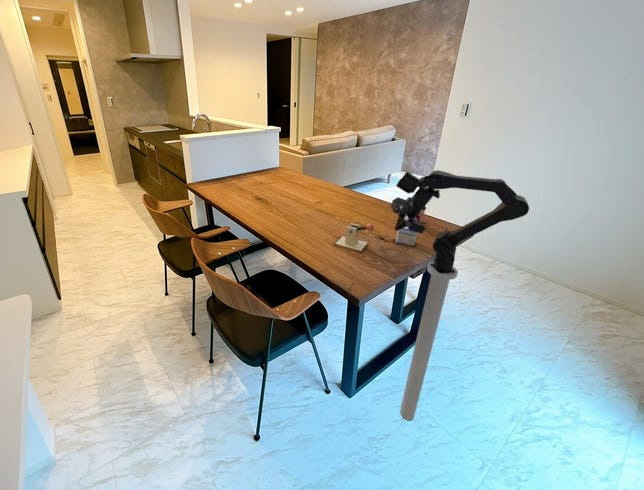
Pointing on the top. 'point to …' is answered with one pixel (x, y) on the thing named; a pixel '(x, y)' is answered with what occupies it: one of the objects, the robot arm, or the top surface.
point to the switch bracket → (352, 239)
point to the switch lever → (368, 227)
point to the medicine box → (406, 236)
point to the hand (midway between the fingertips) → (395, 229)
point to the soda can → (421, 215)
